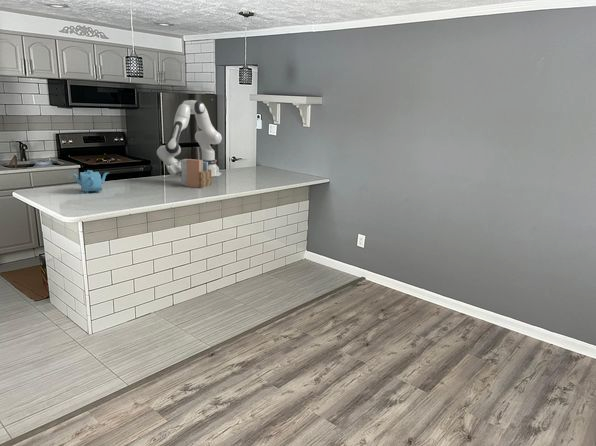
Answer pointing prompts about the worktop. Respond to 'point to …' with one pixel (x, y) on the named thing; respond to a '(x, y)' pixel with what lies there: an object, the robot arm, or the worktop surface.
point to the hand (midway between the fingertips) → (183, 177)
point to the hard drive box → (184, 170)
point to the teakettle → (90, 181)
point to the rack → (205, 178)
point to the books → (194, 172)
